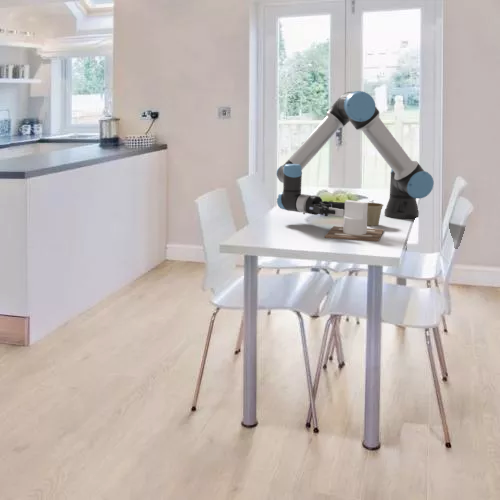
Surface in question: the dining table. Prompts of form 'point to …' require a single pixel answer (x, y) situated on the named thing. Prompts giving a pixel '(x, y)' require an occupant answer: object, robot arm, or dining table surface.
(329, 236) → the letter board
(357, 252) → the dining table surface
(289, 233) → the dining table surface
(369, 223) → the flower pot
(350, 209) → the base with upright slab
